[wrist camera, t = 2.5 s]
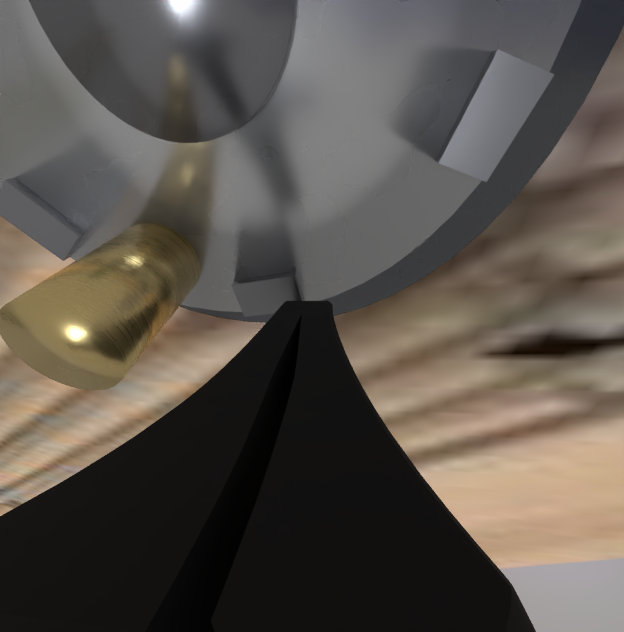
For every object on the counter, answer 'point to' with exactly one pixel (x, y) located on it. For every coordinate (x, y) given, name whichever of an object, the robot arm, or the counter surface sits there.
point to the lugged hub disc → (242, 151)
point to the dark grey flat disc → (512, 170)
